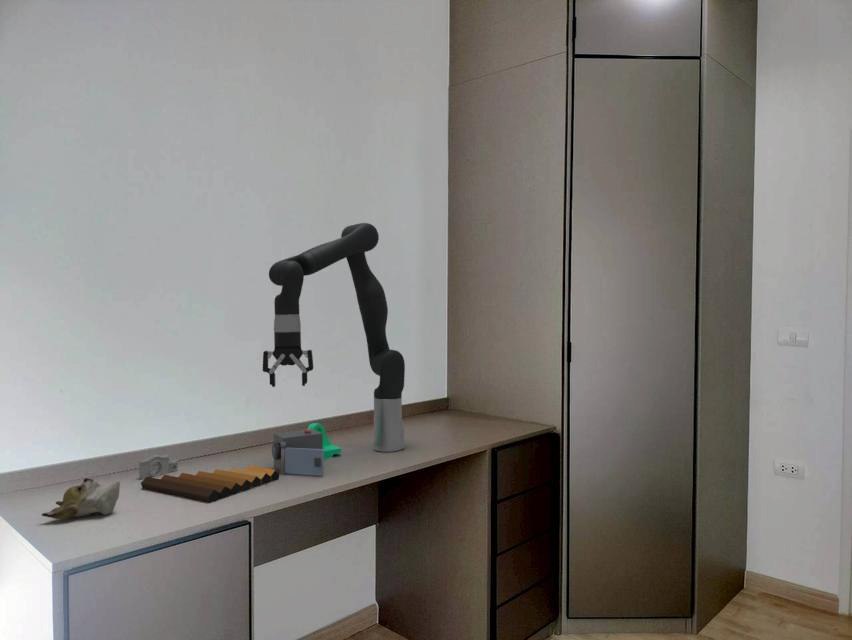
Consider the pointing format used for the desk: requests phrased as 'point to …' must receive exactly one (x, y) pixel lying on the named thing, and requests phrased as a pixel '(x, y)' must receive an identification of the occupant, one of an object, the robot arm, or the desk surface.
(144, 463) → the grey ringed bracket
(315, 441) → the housing
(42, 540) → the desk surface
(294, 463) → the door
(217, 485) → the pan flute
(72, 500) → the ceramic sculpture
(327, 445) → the camera mount
